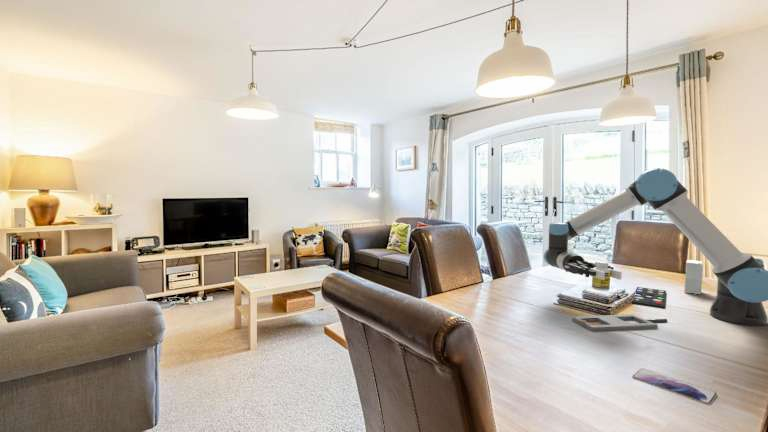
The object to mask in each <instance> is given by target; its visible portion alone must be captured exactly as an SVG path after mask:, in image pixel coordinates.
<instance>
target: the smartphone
mask: <svg viewBox="0 0 768 432" xmlns="http://www.w3.org/2000/svg"><path fill="white" fill-rule="evenodd" d="M631 378H632V379H634V380H636V379H637V381H639V380H640V382H642V381H643V383H645V382H646V383H645V384H648V385H650V384H651V386H653V385H654V387H656V386H657V388H659V387H660V389H662V390H664V389H665V390H664V391H667V390H669V391H668V392H670V391H671V392H670V393H673V392H675V393H674V394H676V393H677V394H676V395H679V394H680V395H679V396H681V395H683V396H682V397H684V396H686V397H685V398H687V397H688V398H687V399H690V398H691V400H693V401H695V400H696V402H698V401H699V403H701V402H702V404H704V403H705V404H704V405H707V404H708V406H710V405H712V404H713V403H714V401H715V400H716V398H718V393H717V392H716V391H712V390H709V389H708V388H707V389H706V388H703V387H700V386H697V385H694V384H692V383H689V382H685V381H682V380H680V379H677V378H674V377H670V376H668V375H664V374H662V373H659V372H655V371H653V370H650V369H646V368H640V369H639V370H637V372H635V373H634V374H633V375H632V376H631ZM714 399H715V400H714Z"/></svg>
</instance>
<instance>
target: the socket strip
mask: <svg viewBox="0 0 768 432" xmlns="http://www.w3.org/2000/svg"><path fill="white" fill-rule="evenodd" d="M571 320H572V321H573V322H575V323H578V324H579V325H581V326H583V327H584V328H585V329H588V330H590V331H592V332H597V331H598V332H600V331H601V332H602V331H621V330H622V331H625V330H646V329H647V330H648V329H658V327H659V326H658V324H656V323H667V322H668V319H667V318H660V319H659V318H657V319H656V318H655V319H654V318H653V319H646V318H642V317H640V316H638V315H635V314H631V313H630V314H604V315H602V314H601V315H580V316H578V315H577V316H572V317H571ZM627 320H629V321H630V320H634V321H636V323H630V322H628V321H627ZM589 322H599V323H601V324H594V325H593V324H591V323H589ZM637 322H638V323H637Z"/></svg>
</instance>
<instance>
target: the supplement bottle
mask: <svg viewBox="0 0 768 432" xmlns="http://www.w3.org/2000/svg"><path fill="white" fill-rule="evenodd" d="M594 263H595V266H596V267H594V268H593V269H596V270H600V271H603V272H605V280H601V279H598V278H595V277H592V276H591V278H592V279H591V288H592V289H593V290H596V291H600V292H601V291H602V292H605V291H610V288H611V287H610V286H611V285H610V283H611V277H610V269H608V268H607V267H608V266H609V262H608V261H602V260H597V261H595V262H594Z"/></svg>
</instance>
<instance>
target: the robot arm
mask: <svg viewBox="0 0 768 432" xmlns="http://www.w3.org/2000/svg"><path fill="white" fill-rule="evenodd" d="M688 193H689V190H687V188H686V187H684V185H683V184H682V183H681V182H680V181H679V180H678V179H677V177H676V175H675V174H674V173H673V172H672V171H671V170H668V169H666V168H660V167H655V168H650V169H647V170H646V171H643V172H642V173H641V174H640V175H639V176H638V178H637V179H636V180H635V181H633V182H632V183H630V184H629V185H627V186H626V187H625V190H623V191H621V192H619V193H617V194H616V195H613V196H612V197H610V198H608V199H607V200H604V201H602V202H601V203H599V204H597V205H595V206H593V207H591V208H590V209H588V210H586V211H583V213H580V214H578V215H577V216H575V217H574V218H573V217H572V218H571V219H569V220H568V221H566V222H550V223H549V225H548V226H549V227H548V248H547V250H545V252H544V254H543V260H544V262H545V263H546V264H548V265H550V266H552V267H554V268H558V269H560V270H563V271H565V273H571V274H574V275H580V276H584V277H585V278H590V277H591V278H592V277H595V278H598V279H601V280H605V272H603V271H600V270H596V269H593V268H594V267H596V266H595V262H589V261H587V260H585V259H584V258H583V256H581V255H578V254H575V253H571V252H568V250H569V249H568V248H569V247H568V245H569V241H570V240H571V239H573V238H575V237H577V236H579V235H581V234H583V233H584V232H587V231H589V230H591V229H593V228H595V227H596V226H599V225H601V224H603V223H605V222H606V221H609V220H610V219H613V218H615V217H617V216H619V215H620V214H623V213H624V212H627V211H628V210H630V209H632V208H633V207H636V206H644V205H645V204H649V205H650V207H652V209H654V210H655V211H659V212H662V213H664V215H665V216H667V218H668V219H669V220H670V222H672V223H673V224H674V225H675V226H676V228H677V229H678V230H679V231H681V232H682V234H683V235H684V236H685V237H686V238H687V239H688V240H689V241H690V242H691V243H692V244H693V246H694V247H696V249H697V250H698V251H699V252H700V253H701V254H702V255H703V256H704V257H705V259H706V260H707V261H708V262H709V263H710V264H712V271H711V272H712V273H713V274H714V276H716V277H717V283H716V284H717V287H716V288H717V290H716V296H715V298H714V300H713V302H712V304H711V306H710V309H709V315H710V316H711V317H713V318H716V319H717V320H721V321H726V322H729V323H734V324H740V325H748V326H759V327H760V326H766V325H768V315H767V313H766V309H765V307H764V304H763V303H764V302H767V301H768V270H767V269H766V268H764V267H765V264H764V261H763V259H761V258H755V257H754V256H753V255H752V254H750V253H747V252H746V253H744V252H741V250H739V249H738V247H736V245H734V244H733V243H732V241H731V240H730V239H729V238H728V237H727V236H725V235H724V233H723V232H722V231H721V230H720V229H719V228H718V227H717V226H716V225H715V224H714V223H713V222H712V221H711V220H710V219H709V217H707V216H706V215H705V214H704V212H702V211H701V209H699V207H697V206H696V205H695V204H694V203H693V202H692V200H691V199H690V198H688ZM607 268H608V269H610V278H613V279H616V280H622V276H623V275H622V271H620V270H618V269H614V267H613V266H611V265H608V267H607Z"/></svg>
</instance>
